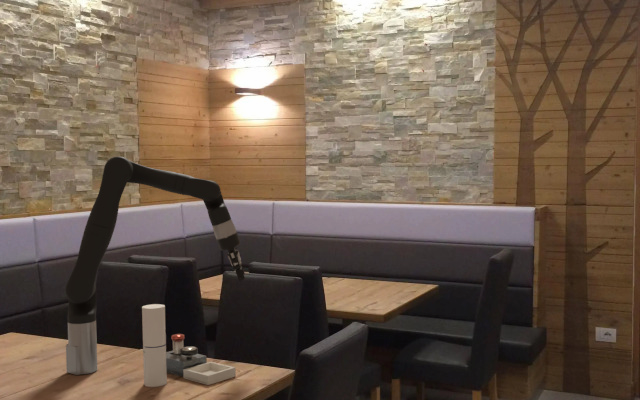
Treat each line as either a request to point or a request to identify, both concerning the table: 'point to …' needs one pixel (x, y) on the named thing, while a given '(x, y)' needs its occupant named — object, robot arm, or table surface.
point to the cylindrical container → (154, 345)
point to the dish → (209, 373)
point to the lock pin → (177, 343)
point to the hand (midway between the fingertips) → (242, 277)
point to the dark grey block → (183, 360)
